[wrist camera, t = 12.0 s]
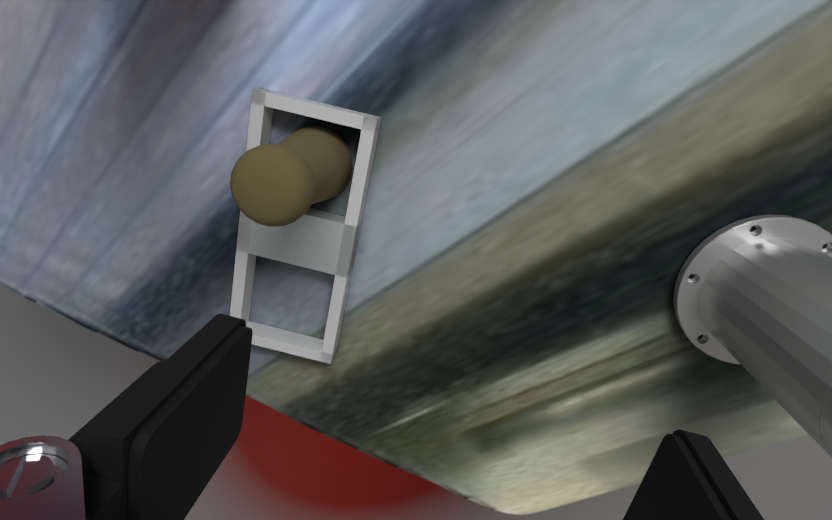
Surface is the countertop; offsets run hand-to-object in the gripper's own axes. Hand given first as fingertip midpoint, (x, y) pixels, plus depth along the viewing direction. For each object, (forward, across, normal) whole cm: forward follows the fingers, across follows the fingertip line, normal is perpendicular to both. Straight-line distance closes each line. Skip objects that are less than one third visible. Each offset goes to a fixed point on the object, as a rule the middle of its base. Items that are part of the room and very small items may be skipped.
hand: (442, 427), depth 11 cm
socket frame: (+30, +12, +7) cm, 33 cm away
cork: (+30, +12, +2) cm, 33 cm away
